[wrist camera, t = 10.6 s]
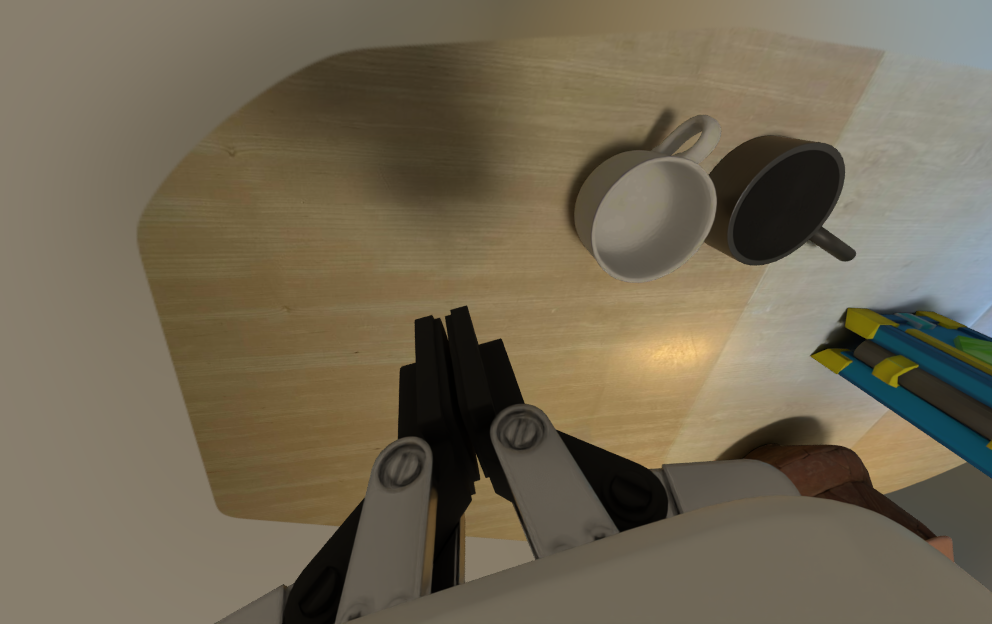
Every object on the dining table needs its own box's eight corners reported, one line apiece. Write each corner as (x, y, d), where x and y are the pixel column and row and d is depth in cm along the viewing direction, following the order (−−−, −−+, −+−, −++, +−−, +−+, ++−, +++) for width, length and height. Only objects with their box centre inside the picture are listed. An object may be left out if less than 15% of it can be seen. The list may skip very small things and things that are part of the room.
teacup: (608, 266, 40) (647, 303, 33) (539, 215, 35) (568, 246, 28) (705, 158, 35) (772, 176, 28) (641, 80, 30) (705, 80, 23)
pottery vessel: (678, 493, 75) (807, 690, 51) (752, 411, 63) (970, 619, 39) (762, 489, 84) (908, 658, 59) (842, 416, 71) (1069, 591, 47)
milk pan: (753, 112, 33) (802, 116, 29) (856, 198, 41) (905, 211, 37) (672, 225, 38) (704, 242, 34) (778, 282, 46) (814, 302, 42)
